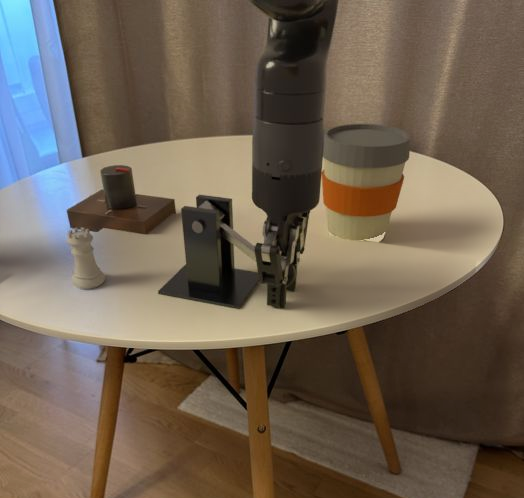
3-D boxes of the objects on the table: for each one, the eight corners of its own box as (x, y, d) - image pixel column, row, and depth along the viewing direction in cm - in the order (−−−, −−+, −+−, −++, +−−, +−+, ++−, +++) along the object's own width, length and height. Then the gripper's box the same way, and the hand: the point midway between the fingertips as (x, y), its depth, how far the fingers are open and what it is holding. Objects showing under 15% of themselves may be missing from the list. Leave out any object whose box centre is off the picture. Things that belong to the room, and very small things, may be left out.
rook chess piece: (65, 292, 71) (51, 235, 67) (87, 277, 75) (75, 222, 70) (93, 299, 70) (80, 241, 65) (114, 284, 73) (104, 227, 68)
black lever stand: (263, 281, 74) (263, 196, 67) (238, 315, 67) (235, 224, 60) (189, 269, 77) (182, 185, 70) (158, 300, 70) (146, 211, 63)
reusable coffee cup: (409, 228, 87) (425, 130, 79) (377, 258, 79) (391, 152, 70) (338, 212, 93) (346, 119, 84) (301, 238, 85) (306, 138, 76)
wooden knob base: (70, 227, 88) (65, 208, 86) (104, 205, 96) (101, 188, 94) (146, 239, 84) (144, 220, 83) (176, 216, 92) (174, 197, 90)
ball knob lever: (289, 285, 69) (304, 266, 67) (280, 299, 67) (296, 279, 64) (198, 216, 68) (211, 194, 66) (185, 227, 65) (198, 204, 63)
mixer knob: (100, 207, 87) (93, 170, 84) (116, 197, 91) (110, 161, 87) (126, 211, 86) (120, 174, 82) (142, 200, 90) (137, 164, 86)
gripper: (275, 139, 65) (271, 269, 75) (229, 176, 54) (232, 322, 64) (337, 146, 63) (324, 278, 73) (302, 186, 52) (293, 335, 62)
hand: (281, 298), depth 69 cm, fingers closed on ball knob lever, 3 cm apart
